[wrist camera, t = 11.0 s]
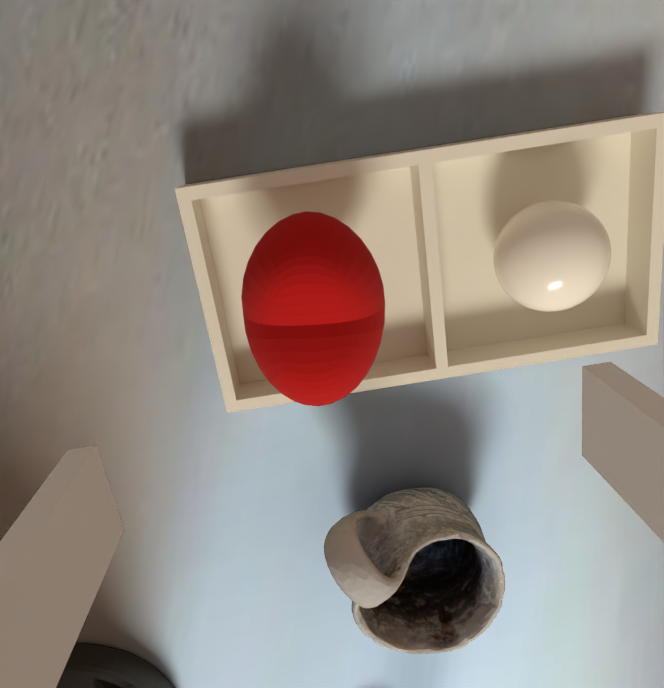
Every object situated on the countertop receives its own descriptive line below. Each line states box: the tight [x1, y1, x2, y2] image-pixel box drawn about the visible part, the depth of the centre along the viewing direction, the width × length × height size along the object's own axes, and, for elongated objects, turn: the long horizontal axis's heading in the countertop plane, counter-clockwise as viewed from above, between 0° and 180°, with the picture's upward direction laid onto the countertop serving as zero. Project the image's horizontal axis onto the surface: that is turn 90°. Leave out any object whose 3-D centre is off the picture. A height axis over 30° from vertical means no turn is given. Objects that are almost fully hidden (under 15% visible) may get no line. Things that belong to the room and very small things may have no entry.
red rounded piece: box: [241, 211, 385, 406], centre depth 29 cm, size 9×7×10 cm
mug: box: [324, 487, 505, 654], centre depth 36 cm, size 10×12×10 cm
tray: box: [175, 112, 664, 413], centre depth 33 cm, size 26×13×3 cm, turn 98°
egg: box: [493, 200, 611, 312], centre depth 31 cm, size 6×6×6 cm
